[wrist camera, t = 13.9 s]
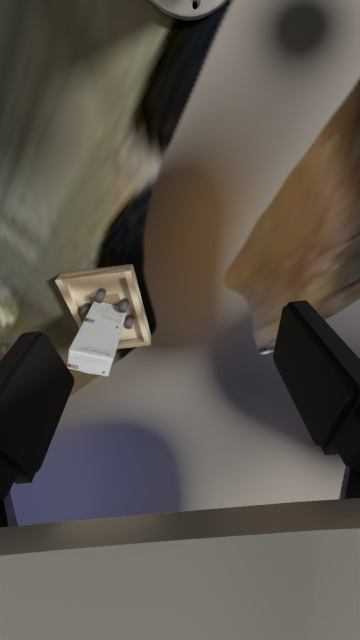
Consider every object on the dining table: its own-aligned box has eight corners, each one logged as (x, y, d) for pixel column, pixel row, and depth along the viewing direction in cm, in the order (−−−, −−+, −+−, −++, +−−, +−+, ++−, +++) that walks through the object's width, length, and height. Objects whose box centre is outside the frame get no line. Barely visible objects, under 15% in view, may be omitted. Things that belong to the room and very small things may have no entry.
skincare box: (127, 308, 40) (115, 358, 31) (122, 326, 43) (110, 378, 33) (92, 298, 39) (68, 348, 29) (89, 318, 41) (66, 370, 32)
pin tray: (61, 273, 37) (51, 283, 34) (132, 264, 37) (129, 274, 34) (94, 342, 47) (89, 355, 44) (151, 336, 47) (150, 349, 44)
